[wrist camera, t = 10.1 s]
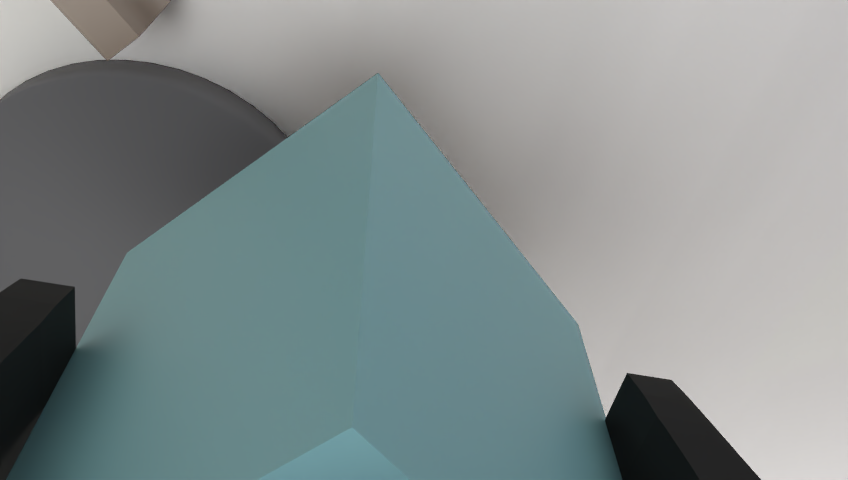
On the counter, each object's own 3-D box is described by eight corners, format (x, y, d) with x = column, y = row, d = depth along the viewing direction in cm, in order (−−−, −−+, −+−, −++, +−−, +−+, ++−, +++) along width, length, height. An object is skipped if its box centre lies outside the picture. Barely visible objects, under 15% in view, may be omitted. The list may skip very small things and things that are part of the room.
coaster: (400, 269, 21) (399, 292, 20) (148, 413, 23) (138, 438, 22) (152, -22, 17) (138, -8, 16) (-119, 192, 19) (-143, 213, 18)
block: (577, 324, 12) (702, 746, 7) (348, 449, 13) (315, 878, 8) (377, 72, 10) (351, 427, 5) (126, 252, 11) (-100, 677, 6)
